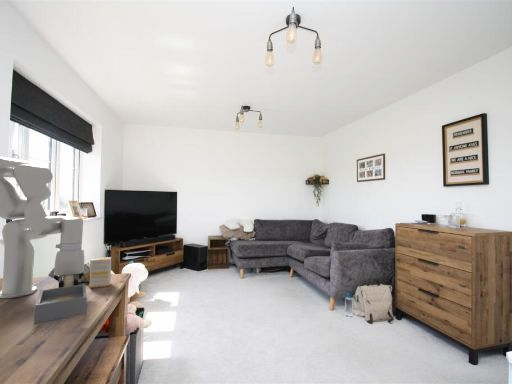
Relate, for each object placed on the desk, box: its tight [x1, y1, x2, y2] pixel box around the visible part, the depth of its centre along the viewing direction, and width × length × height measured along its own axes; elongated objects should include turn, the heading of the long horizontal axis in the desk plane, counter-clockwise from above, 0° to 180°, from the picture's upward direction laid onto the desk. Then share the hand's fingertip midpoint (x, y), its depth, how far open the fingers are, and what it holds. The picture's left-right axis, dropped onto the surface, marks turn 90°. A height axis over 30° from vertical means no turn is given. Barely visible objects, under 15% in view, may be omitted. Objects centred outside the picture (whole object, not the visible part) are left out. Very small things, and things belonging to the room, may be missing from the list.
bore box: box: [33, 283, 88, 324], centre depth 96 cm, size 16×14×6 cm
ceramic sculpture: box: [78, 262, 90, 283], centre depth 128 cm, size 11×9×15 cm
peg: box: [62, 274, 75, 287], centre depth 108 cm, size 4×4×10 cm
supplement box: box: [88, 256, 112, 289], centre depth 122 cm, size 8×5×13 cm, turn 110°
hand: (68, 289), depth 108 cm, fingers closed on peg, 4 cm apart
